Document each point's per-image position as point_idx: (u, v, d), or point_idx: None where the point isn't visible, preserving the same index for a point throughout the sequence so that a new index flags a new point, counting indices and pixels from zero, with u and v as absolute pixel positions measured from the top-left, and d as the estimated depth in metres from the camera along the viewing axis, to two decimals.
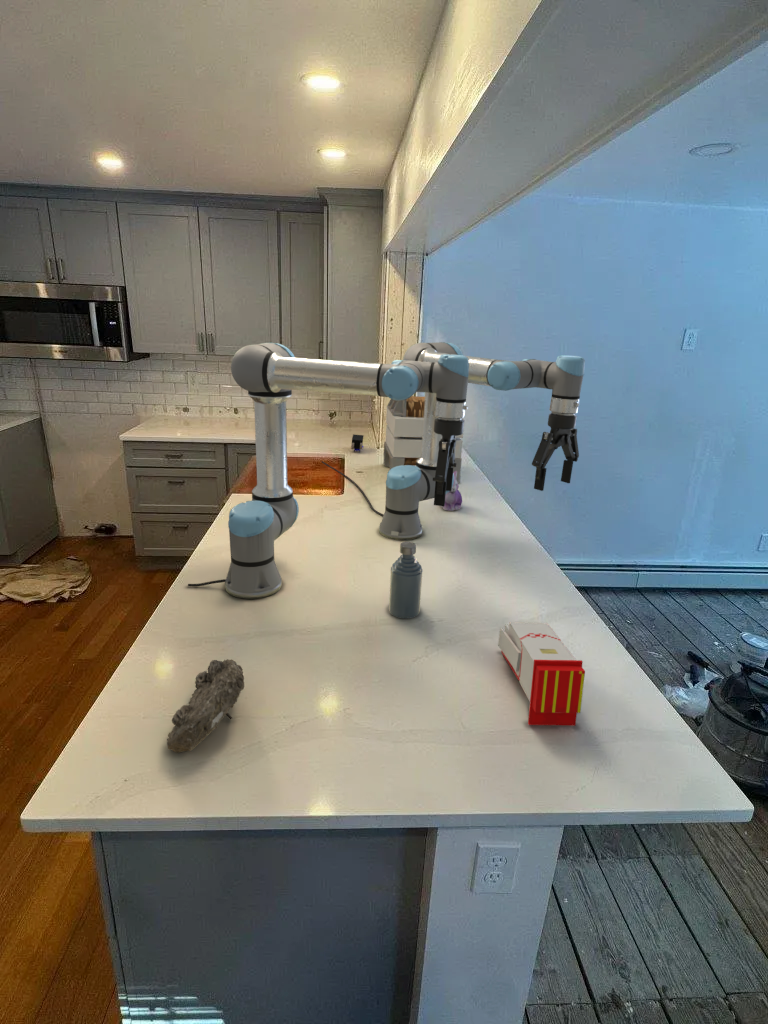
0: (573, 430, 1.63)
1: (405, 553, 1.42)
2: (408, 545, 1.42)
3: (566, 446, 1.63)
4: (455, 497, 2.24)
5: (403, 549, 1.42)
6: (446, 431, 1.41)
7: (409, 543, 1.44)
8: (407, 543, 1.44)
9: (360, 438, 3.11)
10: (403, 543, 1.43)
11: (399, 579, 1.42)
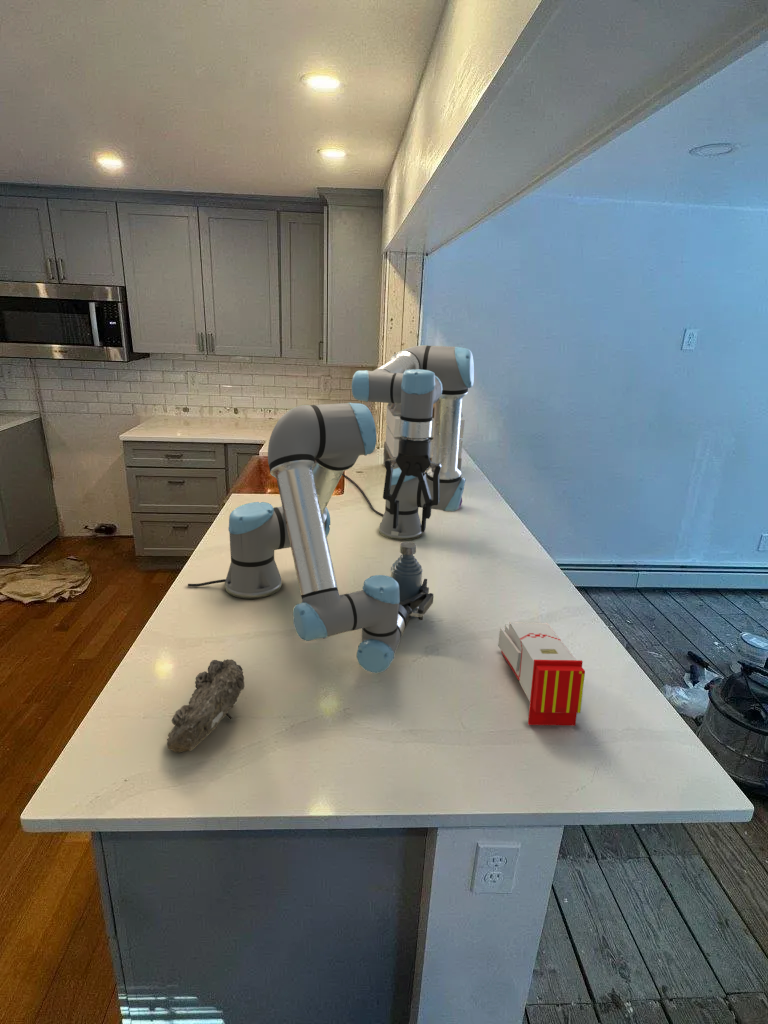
0: None
1: (405, 553, 1.42)
2: (408, 545, 1.42)
3: (404, 477, 1.38)
4: None
5: (403, 549, 1.42)
6: None
7: (409, 543, 1.44)
8: (407, 543, 1.44)
9: None
10: (403, 543, 1.43)
11: (399, 579, 1.42)
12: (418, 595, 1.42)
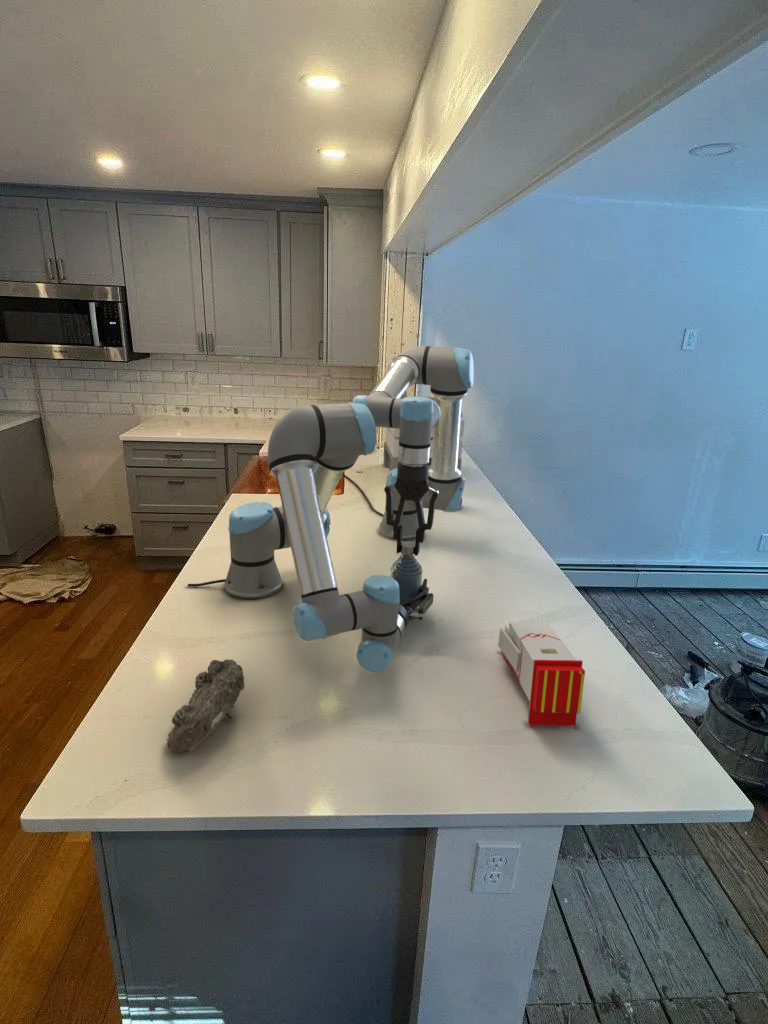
0: None
1: (405, 553, 1.42)
2: (408, 545, 1.42)
3: (405, 502, 1.40)
4: None
5: (403, 549, 1.42)
6: None
7: (409, 543, 1.44)
8: (407, 543, 1.44)
9: None
10: (403, 543, 1.43)
11: (399, 579, 1.42)
12: (418, 595, 1.42)
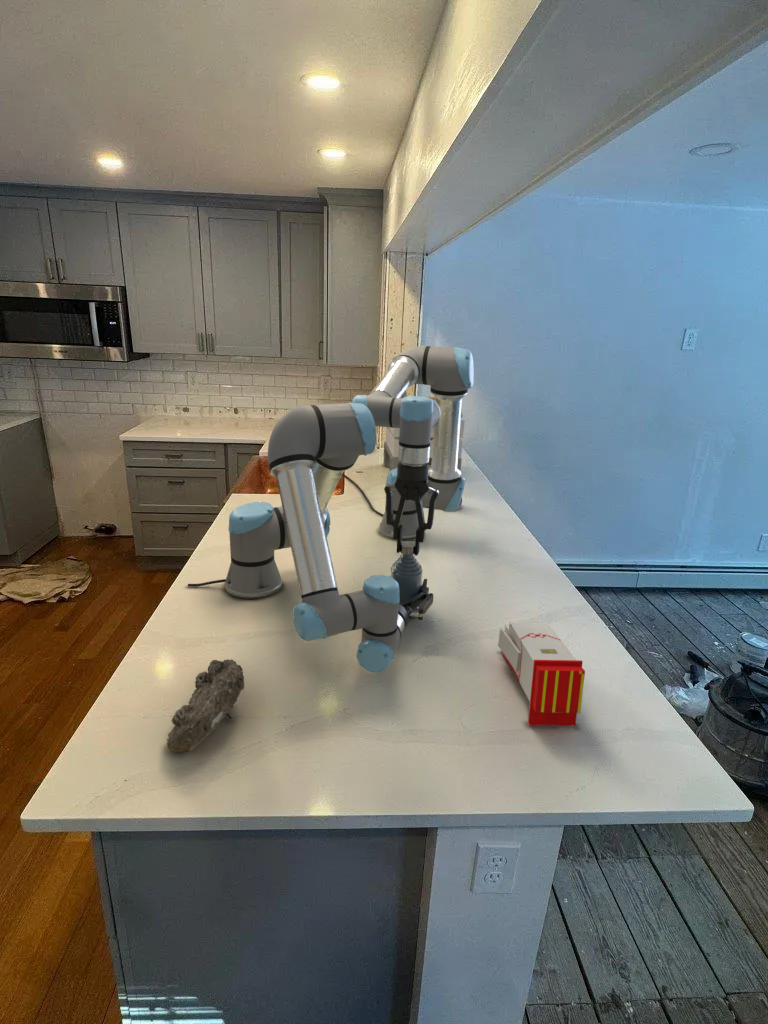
0: None
1: None
2: (410, 544, 1.43)
3: (405, 502, 1.40)
4: None
5: None
6: None
7: (405, 543, 1.43)
8: (406, 544, 1.43)
9: None
10: (407, 546, 1.42)
11: (399, 579, 1.42)
12: (418, 595, 1.42)
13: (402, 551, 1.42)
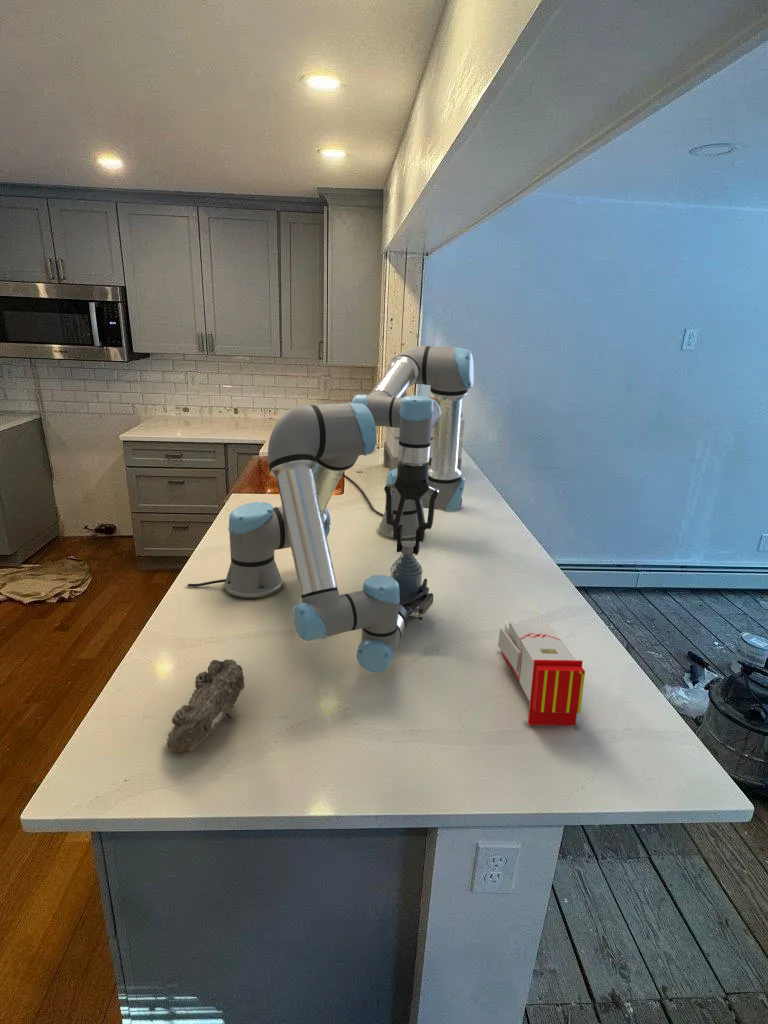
0: None
1: None
2: (407, 542, 1.43)
3: (405, 501, 1.40)
4: None
5: None
6: None
7: (408, 544, 1.42)
8: (409, 544, 1.42)
9: None
10: (413, 543, 1.43)
11: (399, 579, 1.42)
12: (418, 595, 1.42)
13: (414, 551, 1.42)
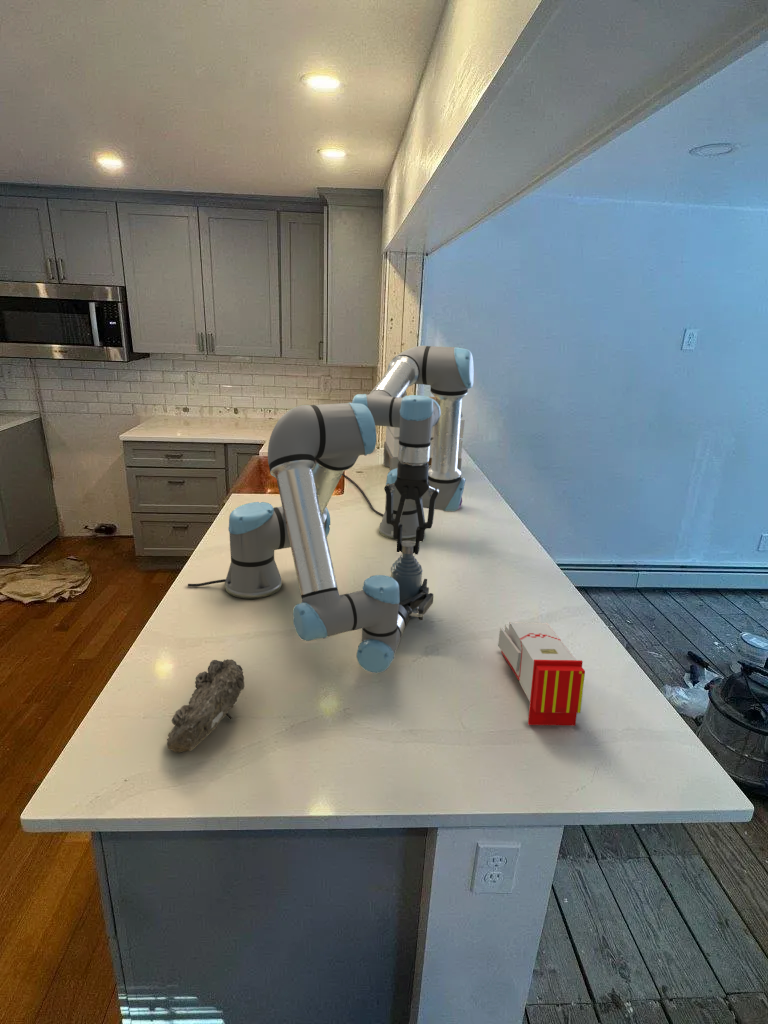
0: None
1: (400, 550, 1.43)
2: (406, 544, 1.42)
3: (405, 501, 1.40)
4: None
5: (400, 546, 1.43)
6: None
7: (411, 543, 1.43)
8: (409, 542, 1.43)
9: None
10: (407, 541, 1.44)
11: (399, 579, 1.42)
12: (418, 595, 1.42)
13: None
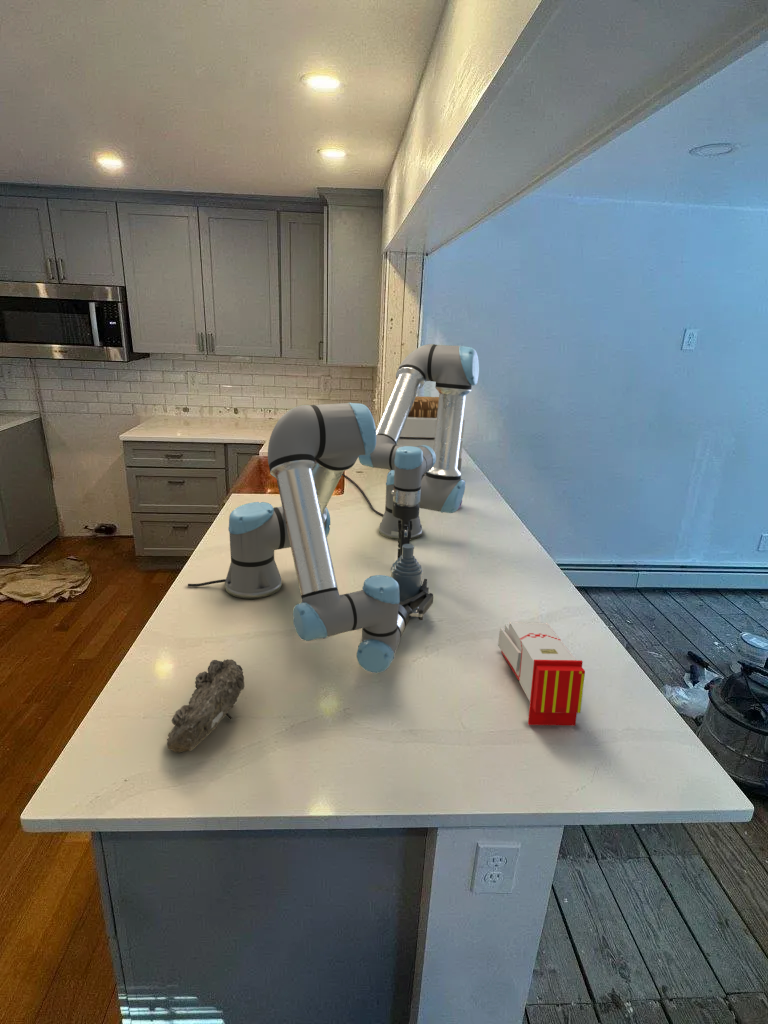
0: None
1: None
2: None
3: None
4: None
5: None
6: None
7: None
8: None
9: None
10: None
11: (399, 579, 1.42)
12: (418, 595, 1.42)
13: None
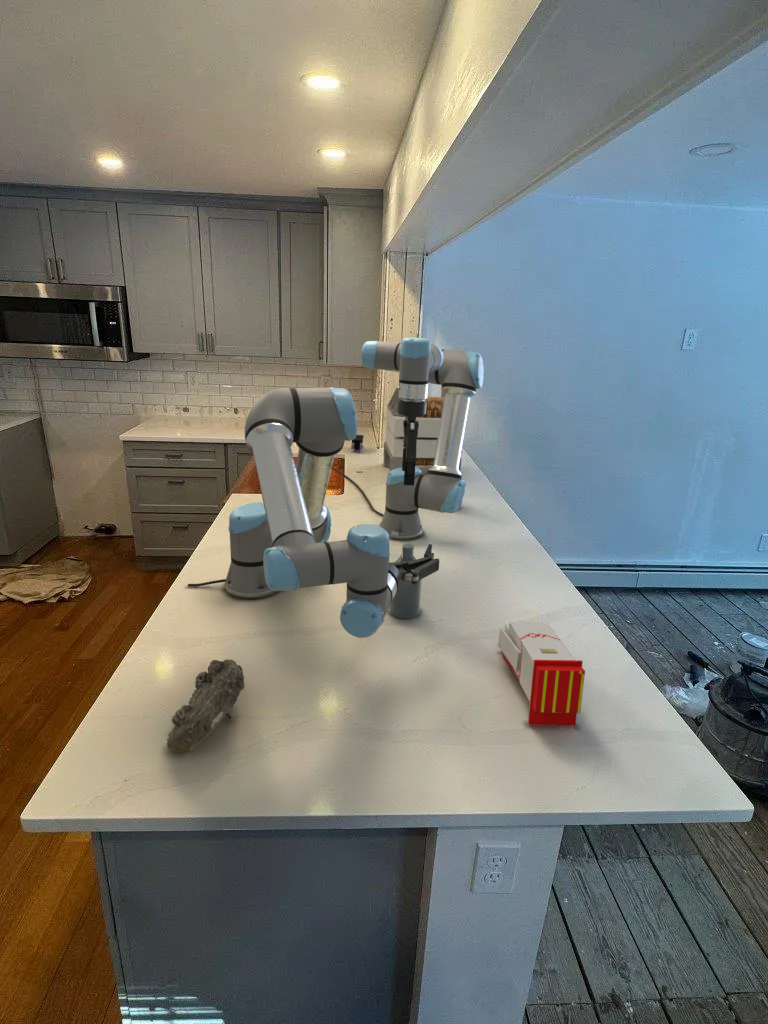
0: None
1: None
2: None
3: None
4: None
5: None
6: None
7: None
8: None
9: (360, 438, 3.11)
10: None
11: None
12: (420, 559, 1.24)
13: None
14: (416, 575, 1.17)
